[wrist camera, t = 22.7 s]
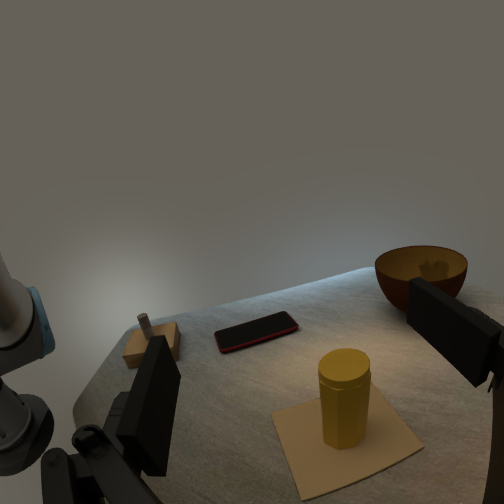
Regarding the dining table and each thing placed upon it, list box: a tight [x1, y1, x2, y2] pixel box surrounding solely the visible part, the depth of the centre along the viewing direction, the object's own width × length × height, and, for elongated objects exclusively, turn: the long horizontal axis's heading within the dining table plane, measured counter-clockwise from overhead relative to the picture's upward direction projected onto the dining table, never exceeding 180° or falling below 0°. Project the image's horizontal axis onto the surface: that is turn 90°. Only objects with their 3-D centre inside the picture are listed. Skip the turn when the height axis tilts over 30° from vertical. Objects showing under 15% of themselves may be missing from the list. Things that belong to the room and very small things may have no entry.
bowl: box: [375, 246, 468, 314], centre depth 46 cm, size 18×18×10 cm
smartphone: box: [214, 311, 298, 353], centre depth 53 cm, size 7×1×15 cm
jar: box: [318, 348, 371, 450], centre depth 26 cm, size 5×5×11 cm
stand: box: [123, 313, 180, 368], centre depth 52 cm, size 10×10×8 cm
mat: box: [271, 382, 424, 501], centre depth 27 cm, size 14×14×1 cm
